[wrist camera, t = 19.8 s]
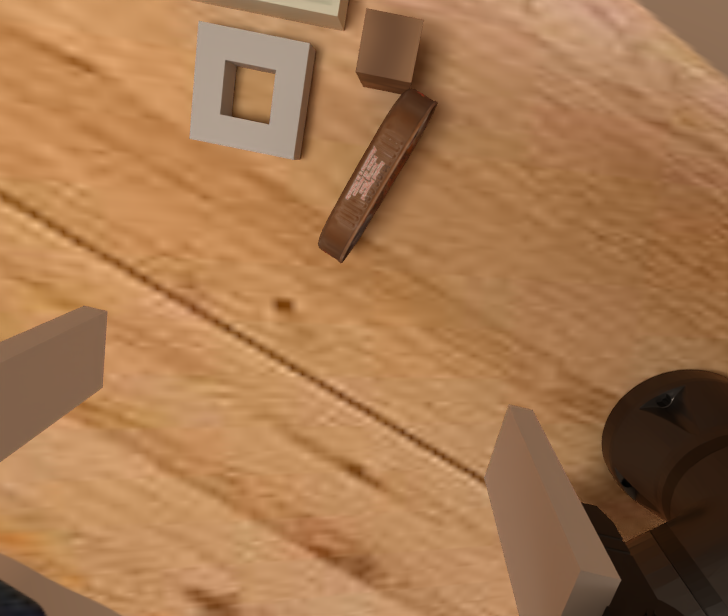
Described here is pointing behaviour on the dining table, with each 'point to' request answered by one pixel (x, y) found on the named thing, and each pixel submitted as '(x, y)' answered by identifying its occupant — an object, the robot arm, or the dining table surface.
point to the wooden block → (388, 51)
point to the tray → (294, 10)
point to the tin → (376, 173)
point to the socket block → (217, 82)
